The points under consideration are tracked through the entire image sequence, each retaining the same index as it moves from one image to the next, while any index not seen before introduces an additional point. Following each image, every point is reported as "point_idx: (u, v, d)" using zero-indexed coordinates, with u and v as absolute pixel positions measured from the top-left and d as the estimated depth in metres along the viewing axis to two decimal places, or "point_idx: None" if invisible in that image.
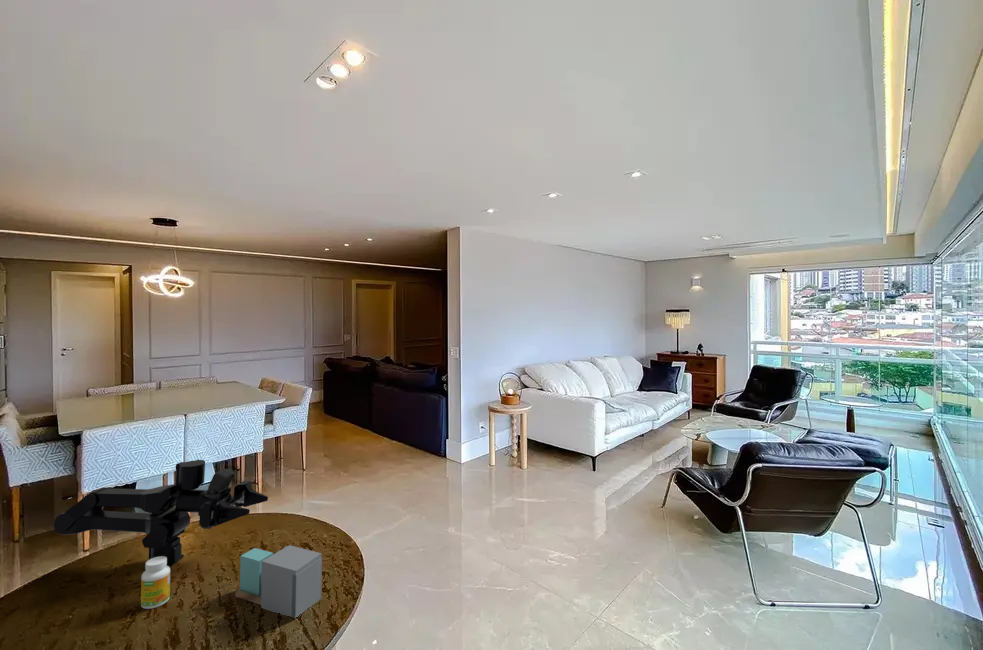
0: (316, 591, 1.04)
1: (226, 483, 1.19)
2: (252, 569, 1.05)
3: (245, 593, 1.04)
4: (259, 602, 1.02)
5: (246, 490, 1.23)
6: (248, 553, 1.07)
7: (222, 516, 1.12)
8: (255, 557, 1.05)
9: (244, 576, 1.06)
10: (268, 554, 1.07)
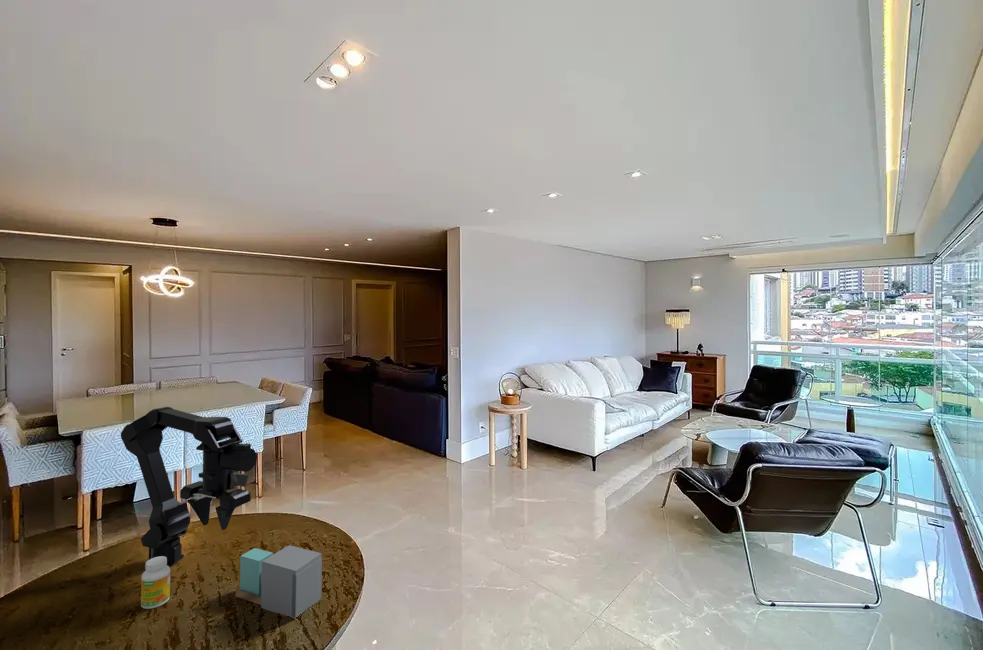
0: (316, 591, 1.04)
1: None
2: (252, 569, 1.05)
3: (245, 593, 1.04)
4: (259, 602, 1.02)
5: (211, 497, 1.17)
6: (248, 553, 1.07)
7: None
8: (255, 557, 1.05)
9: (244, 576, 1.06)
10: (268, 554, 1.07)
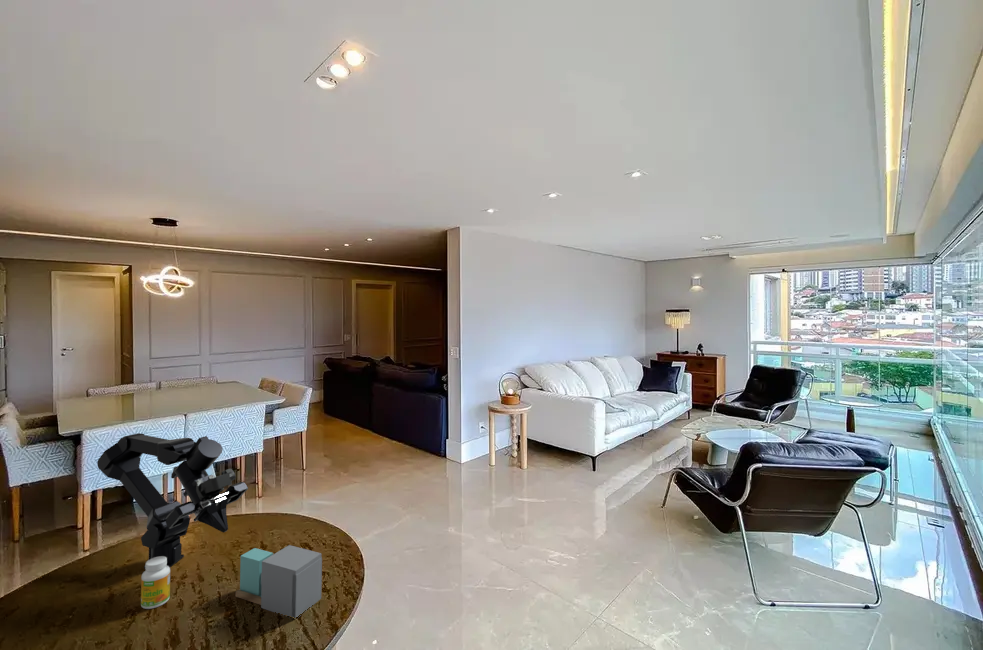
0: (316, 591, 1.04)
1: None
2: (252, 569, 1.05)
3: (245, 593, 1.04)
4: (259, 602, 1.02)
5: (219, 505, 1.12)
6: (248, 553, 1.07)
7: (205, 516, 1.11)
8: (255, 557, 1.05)
9: (244, 576, 1.06)
10: (268, 554, 1.07)
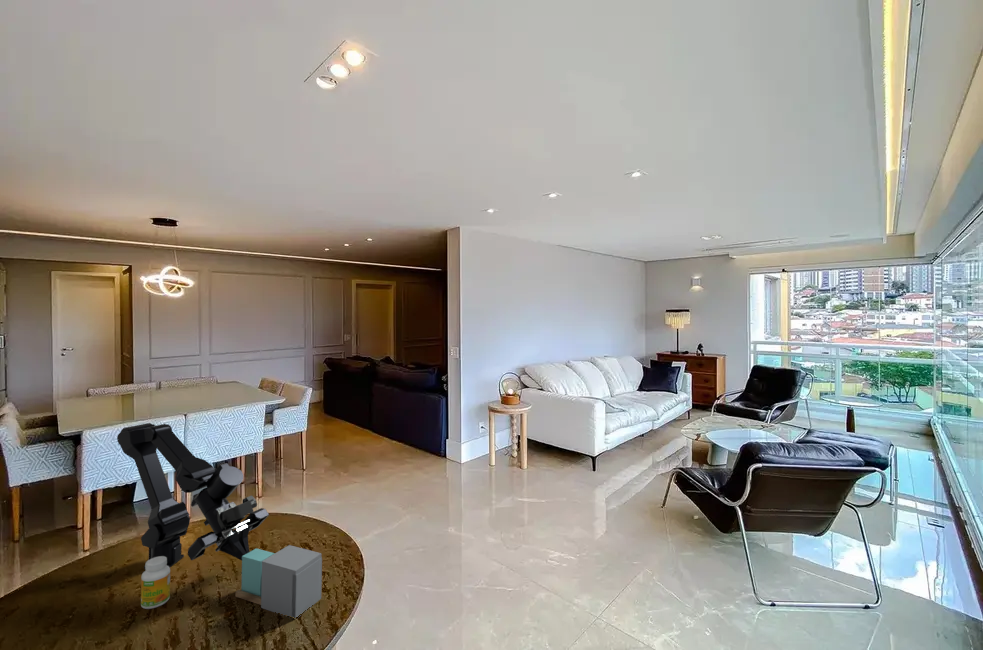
0: (316, 591, 1.04)
1: None
2: (253, 569, 1.05)
3: (245, 593, 1.04)
4: (259, 602, 1.02)
5: (241, 533, 1.10)
6: (250, 554, 1.07)
7: (227, 545, 1.08)
8: (257, 557, 1.05)
9: (246, 577, 1.05)
10: (270, 554, 1.07)
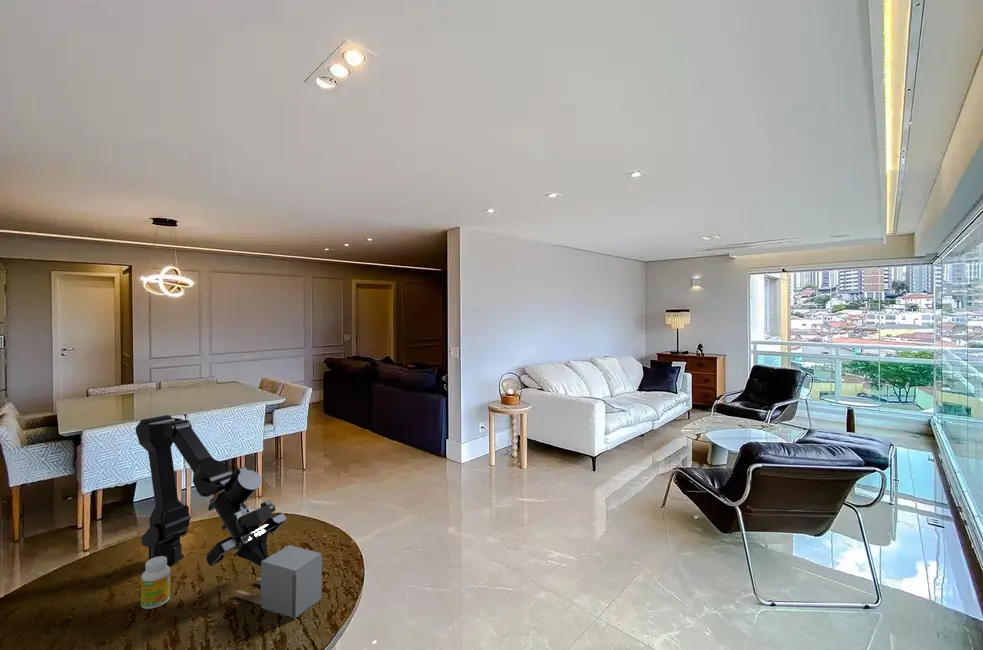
0: (316, 591, 1.04)
1: None
2: None
3: (245, 593, 1.04)
4: (259, 602, 1.02)
5: (259, 539, 1.07)
6: None
7: (246, 551, 1.06)
8: None
9: None
10: None
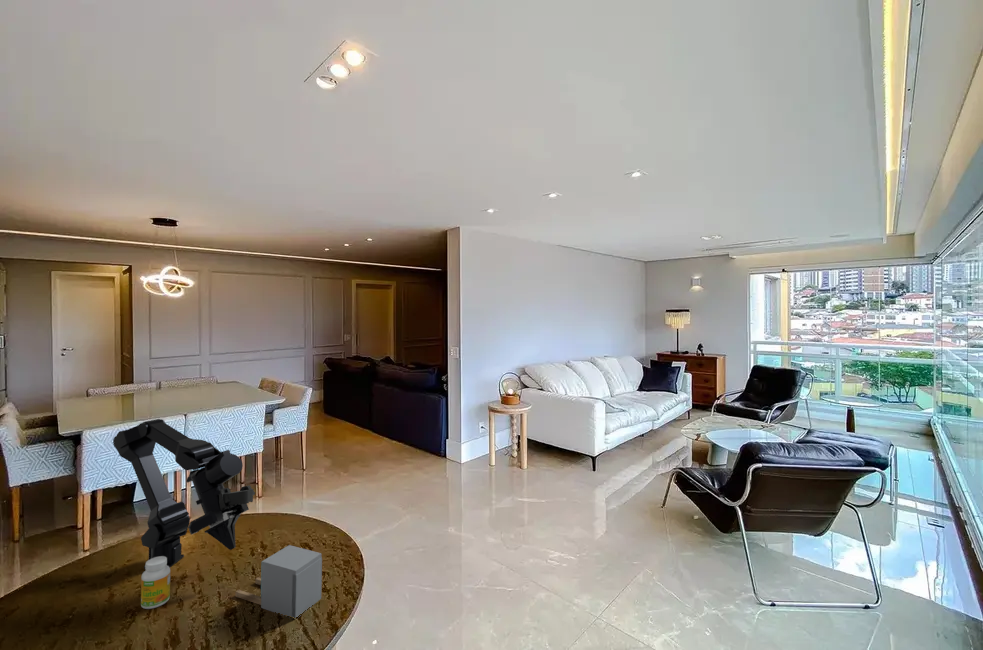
0: (316, 591, 1.04)
1: None
2: None
3: (245, 593, 1.04)
4: (259, 602, 1.02)
5: (231, 520, 1.12)
6: None
7: (216, 529, 1.09)
8: None
9: None
10: None
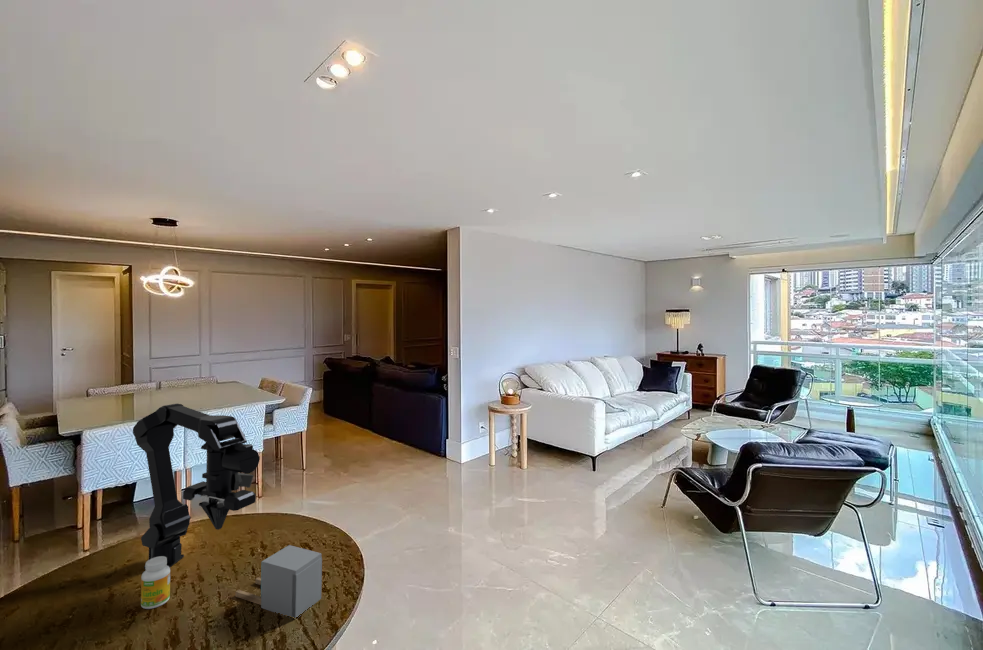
0: (316, 591, 1.04)
1: None
2: None
3: (245, 593, 1.04)
4: (259, 602, 1.02)
5: None
6: None
7: None
8: None
9: None
10: None
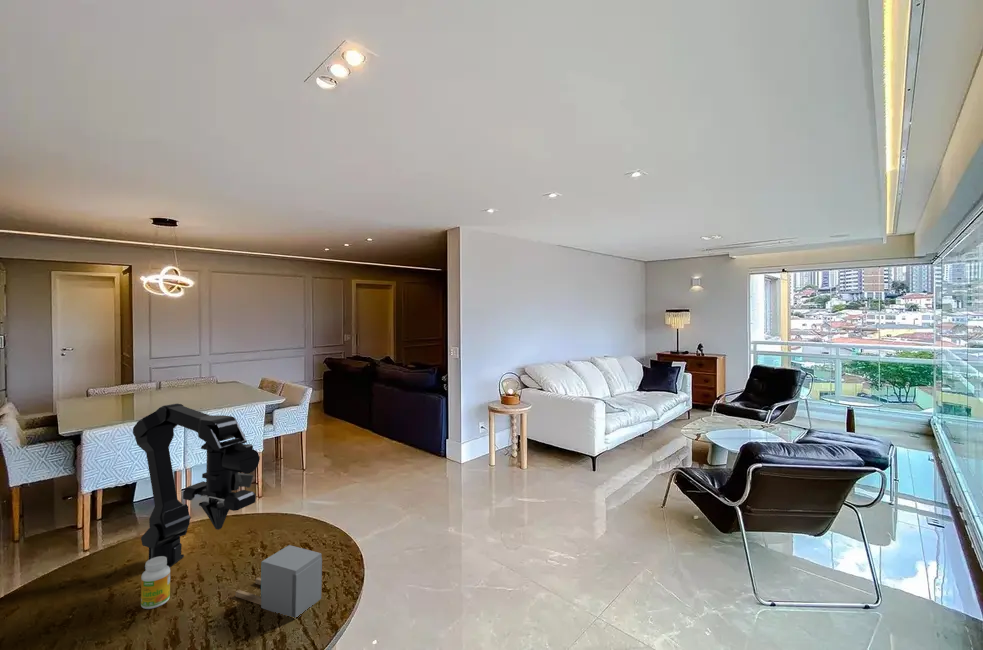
0: (316, 591, 1.04)
1: None
2: None
3: (245, 593, 1.04)
4: (259, 602, 1.02)
5: None
6: None
7: None
8: None
9: None
10: None
